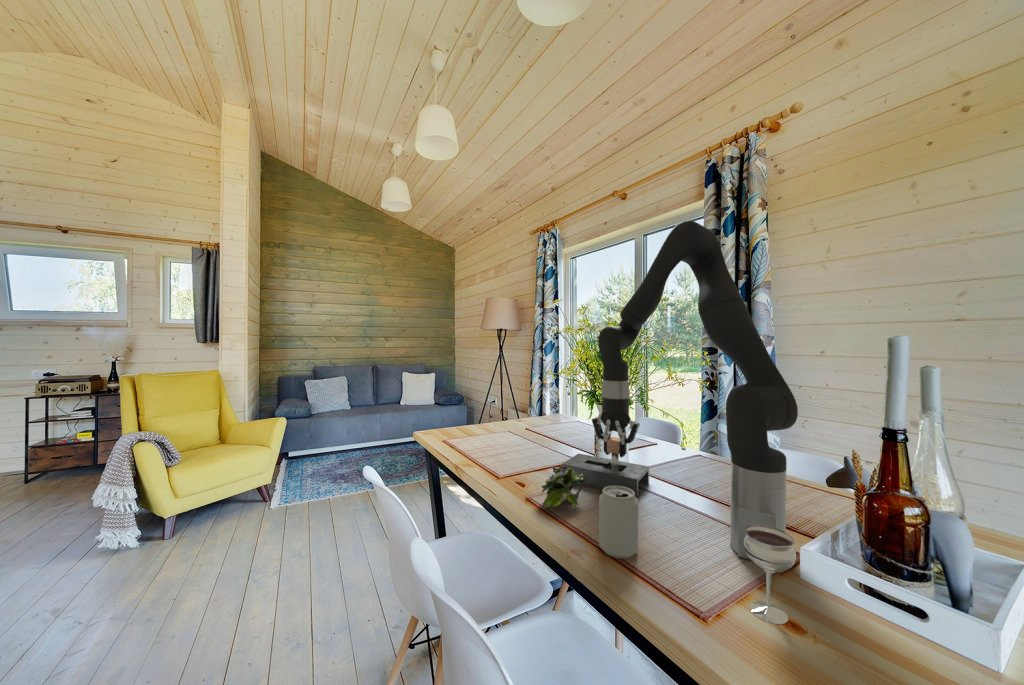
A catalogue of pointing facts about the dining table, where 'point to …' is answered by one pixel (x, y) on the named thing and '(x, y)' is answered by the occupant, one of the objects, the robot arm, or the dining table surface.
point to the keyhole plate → (608, 472)
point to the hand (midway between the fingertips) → (615, 455)
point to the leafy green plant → (562, 486)
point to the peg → (614, 451)
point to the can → (618, 522)
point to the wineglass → (769, 564)
